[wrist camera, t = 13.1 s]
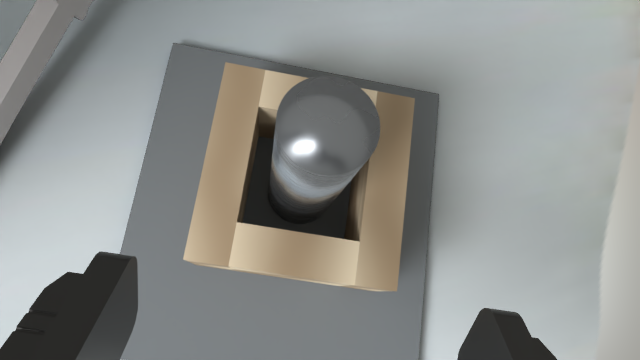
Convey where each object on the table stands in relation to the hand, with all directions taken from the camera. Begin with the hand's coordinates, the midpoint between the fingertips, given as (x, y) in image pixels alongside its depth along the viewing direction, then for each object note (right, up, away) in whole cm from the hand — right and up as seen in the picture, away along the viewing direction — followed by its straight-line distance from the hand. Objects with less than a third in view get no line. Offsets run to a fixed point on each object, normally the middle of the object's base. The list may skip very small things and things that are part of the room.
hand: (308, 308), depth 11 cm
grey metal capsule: (-1, +2, +13) cm, 13 cm away
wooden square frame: (-1, +2, +13) cm, 13 cm away
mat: (-1, +1, +13) cm, 13 cm away
